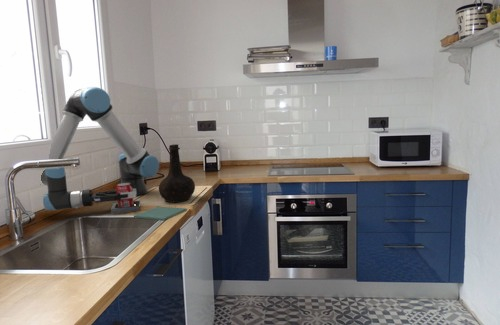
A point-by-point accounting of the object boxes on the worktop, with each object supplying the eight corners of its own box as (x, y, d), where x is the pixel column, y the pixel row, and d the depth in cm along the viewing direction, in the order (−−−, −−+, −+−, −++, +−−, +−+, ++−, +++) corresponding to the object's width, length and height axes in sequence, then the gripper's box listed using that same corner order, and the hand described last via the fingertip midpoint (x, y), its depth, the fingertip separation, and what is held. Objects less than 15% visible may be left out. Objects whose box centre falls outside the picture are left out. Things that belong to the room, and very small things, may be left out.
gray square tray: (113, 207, 174) (113, 203, 174) (139, 204, 177) (139, 200, 177) (111, 214, 162) (110, 209, 162) (139, 210, 165) (138, 206, 165)
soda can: (128, 206, 175) (126, 182, 173) (137, 208, 170) (134, 183, 169) (115, 210, 169) (112, 184, 168) (123, 212, 165) (120, 186, 163)
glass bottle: (167, 206, 170) (162, 147, 166) (154, 200, 185) (149, 145, 181) (202, 200, 180) (197, 143, 176) (187, 194, 195) (183, 142, 191)
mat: (158, 207, 169) (158, 206, 169) (186, 210, 162) (186, 208, 162) (133, 217, 155) (133, 215, 155) (163, 220, 148) (163, 218, 148)
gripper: (87, 201, 174) (137, 196, 180) (79, 211, 155) (136, 205, 161) (85, 186, 173) (136, 181, 179) (77, 194, 154) (134, 188, 160)
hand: (135, 192), depth 170 cm, fingers closed on soda can, 6 cm apart
